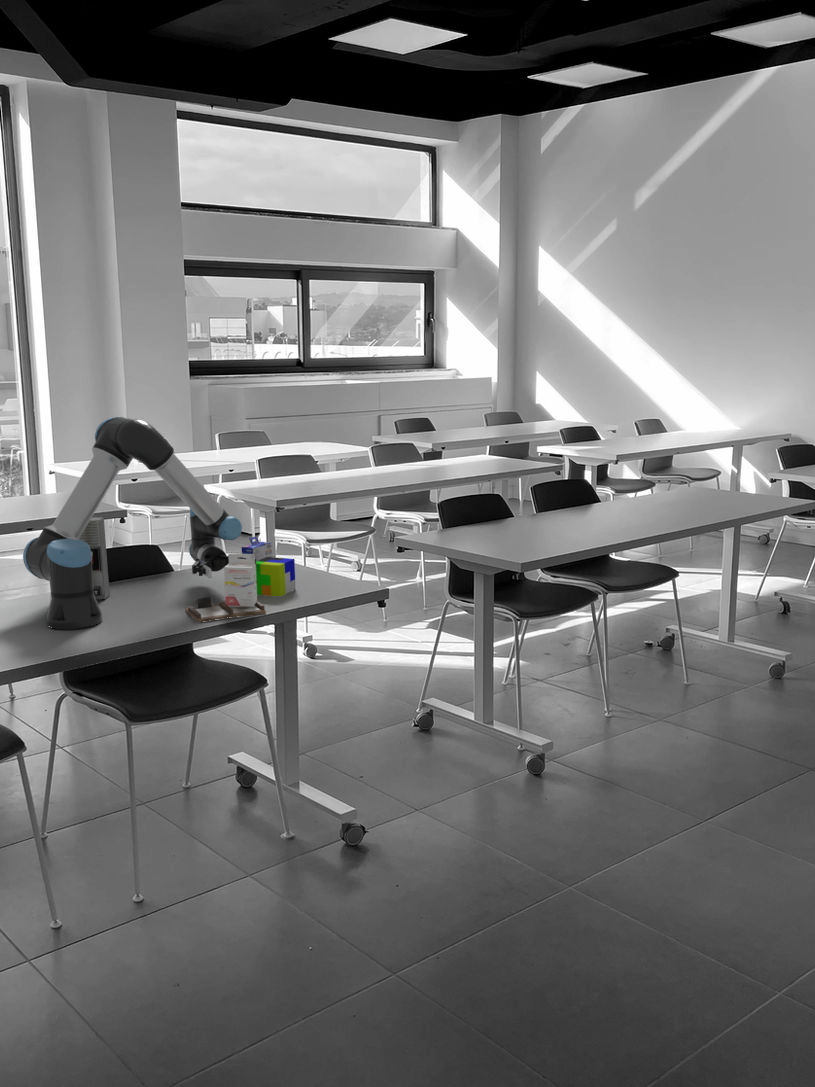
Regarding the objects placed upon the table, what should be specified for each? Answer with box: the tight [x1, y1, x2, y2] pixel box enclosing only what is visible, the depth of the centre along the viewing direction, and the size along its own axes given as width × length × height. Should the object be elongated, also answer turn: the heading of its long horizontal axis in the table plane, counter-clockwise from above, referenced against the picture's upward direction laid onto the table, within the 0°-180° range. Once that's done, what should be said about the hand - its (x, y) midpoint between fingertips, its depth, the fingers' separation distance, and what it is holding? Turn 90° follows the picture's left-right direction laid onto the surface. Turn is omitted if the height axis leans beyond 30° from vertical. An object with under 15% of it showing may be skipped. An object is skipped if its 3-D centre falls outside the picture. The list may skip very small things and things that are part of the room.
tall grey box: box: [79, 517, 111, 600], centre depth 327 cm, size 14×6×25 cm, turn 90°
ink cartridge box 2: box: [241, 536, 273, 561], centre depth 348 cm, size 10×6×14 cm, turn 148°
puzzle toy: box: [256, 556, 297, 597], centre depth 333 cm, size 10×10×10 cm
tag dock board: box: [184, 596, 267, 623], centre depth 310 cm, size 20×14×4 cm
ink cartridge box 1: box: [223, 553, 258, 606], centre depth 310 cm, size 9×5×15 cm, turn 84°
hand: (232, 571), depth 316 cm, fingers open, 13 cm apart
